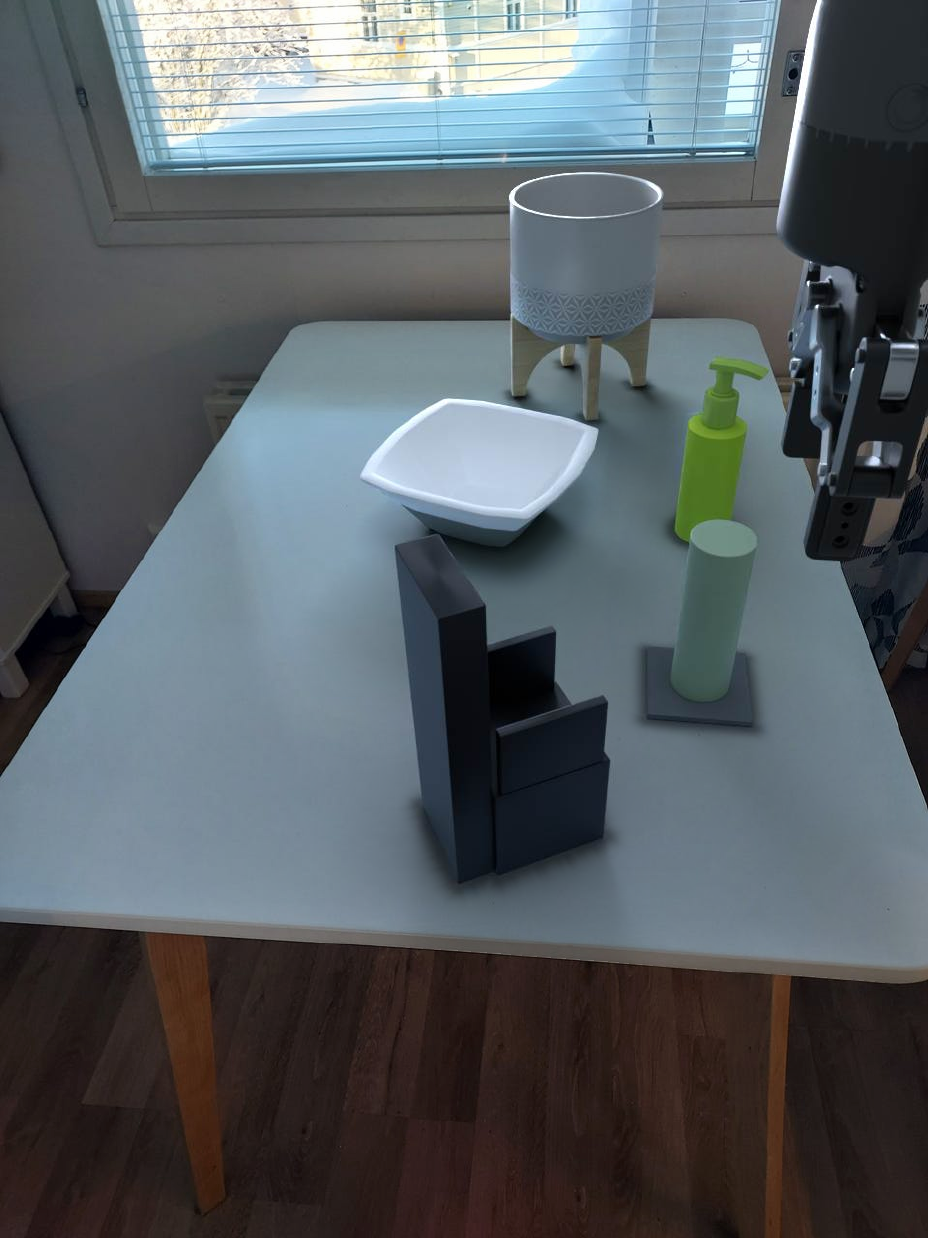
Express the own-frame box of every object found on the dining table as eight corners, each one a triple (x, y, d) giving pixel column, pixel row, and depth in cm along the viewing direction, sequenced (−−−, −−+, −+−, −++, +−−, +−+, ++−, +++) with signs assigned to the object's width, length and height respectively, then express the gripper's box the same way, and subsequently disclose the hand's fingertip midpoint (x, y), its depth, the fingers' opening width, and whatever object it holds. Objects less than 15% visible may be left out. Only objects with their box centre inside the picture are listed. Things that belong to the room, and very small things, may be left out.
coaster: (752, 726, 81) (753, 722, 80) (647, 718, 82) (647, 714, 81) (744, 657, 87) (744, 652, 87) (646, 650, 89) (647, 646, 88)
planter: (503, 365, 138) (500, 177, 121) (628, 355, 139) (642, 167, 122) (521, 426, 123) (521, 223, 107) (661, 414, 124) (682, 210, 108)
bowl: (536, 595, 96) (537, 527, 90) (349, 543, 104) (340, 478, 99) (611, 489, 110) (616, 426, 105) (442, 451, 119) (438, 390, 114)
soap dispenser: (727, 554, 100) (757, 381, 87) (666, 536, 103) (687, 366, 90) (745, 526, 104) (776, 357, 91) (686, 510, 106) (708, 344, 94)
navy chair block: (553, 756, 79) (561, 497, 62) (603, 837, 72) (627, 570, 56) (420, 801, 76) (391, 540, 59) (460, 889, 69) (440, 624, 53)
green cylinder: (730, 704, 82) (760, 558, 72) (670, 700, 83) (691, 554, 72) (726, 664, 86) (754, 520, 76) (669, 661, 87) (689, 517, 76)
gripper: (1103, 159, 26) (938, 604, 37) (970, 64, 37) (872, 428, 47) (827, 161, 27) (743, 592, 38) (776, 67, 38) (721, 423, 48)
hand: (815, 501), depth 43 cm, fingers open, 8 cm apart
